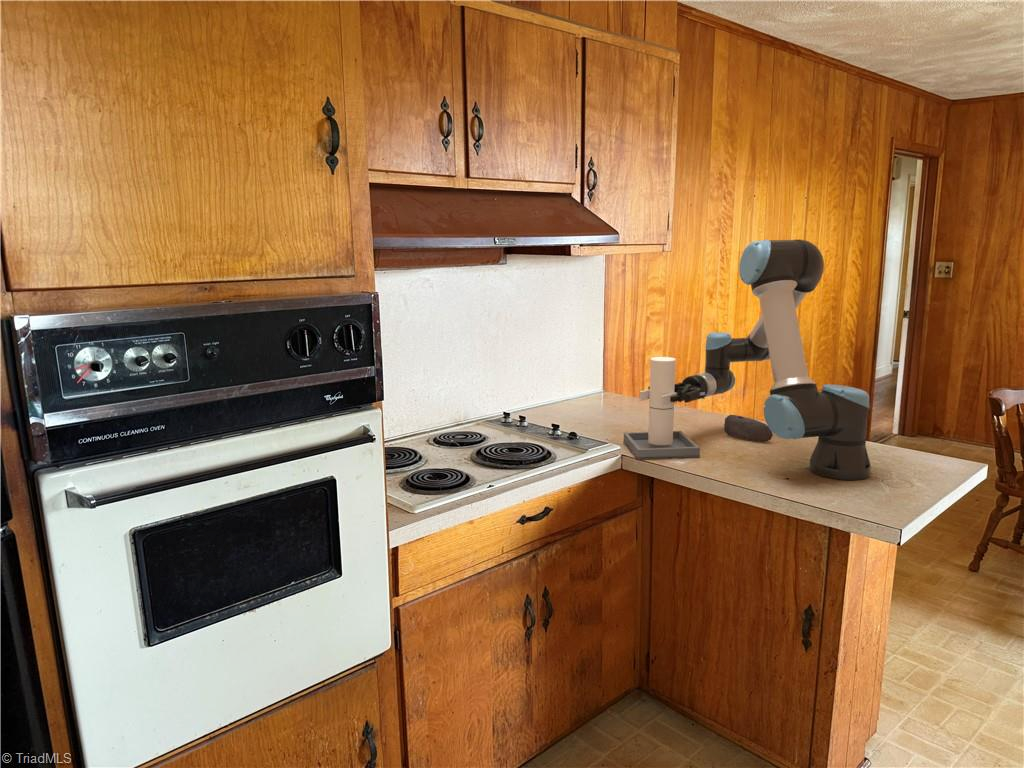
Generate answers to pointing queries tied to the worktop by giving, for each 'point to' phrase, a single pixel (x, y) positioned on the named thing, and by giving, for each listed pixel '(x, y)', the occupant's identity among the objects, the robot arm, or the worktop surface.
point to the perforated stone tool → (747, 428)
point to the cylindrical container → (660, 414)
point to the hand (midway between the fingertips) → (651, 398)
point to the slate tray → (661, 446)
